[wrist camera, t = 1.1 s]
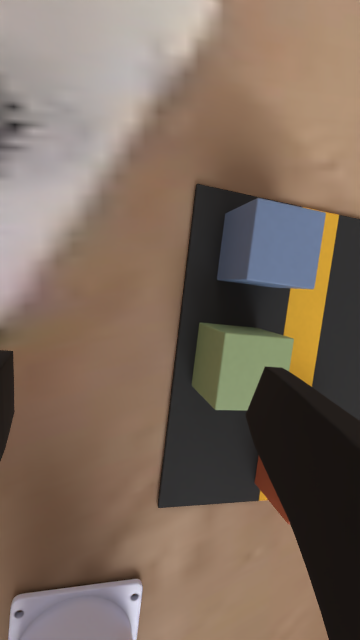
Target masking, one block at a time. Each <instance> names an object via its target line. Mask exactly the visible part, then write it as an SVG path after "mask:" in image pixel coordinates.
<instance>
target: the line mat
mask: <svg viewBox="0 0 360 640" xmlns="http://www.w3.org/2000/svg"><path fill="white" fill-rule="evenodd" d="M257 198H260V197H255V196H251V195H246V194H241V193H237V192H232V191H228V190H223V189H219V188H214V187H209V186H205V185H200V184H197V185H196V190H195V199H194V207H193V215H192V224H191V232H190V240H189V249H188V257H187V265H186V274H185V282H184V290H183V299H182V307H181V315H180V324H179V332H178V340H177V349H176V357H175V365H174V374H173V382H172V390H171V399H170V407H169V415H168V424H167V432H166V440H165V449H164V457H163V465H162V474H161V482H160V490H159V499H158V508H165V507H179V506H192V505H206V504H220V503H234V502H247V501H261V500H268V499H267V498H266V496H265V495H264V494H263V493H262V491H261V490H260V489H259V488H258V487H257V485H256V484H255V477H256V470H257V463H258V457H259V454H258V452H257V450H256V448H255V445H254V442H253V439H252V436H251V433H250V430H249V426H248V423H247V419H246V416H245V415H246V412H247V410H215V409H214V408H213V407H212V406H211V405H210V404H209V403H208V402H207V401H206V400H205V399H204V398H203V397H202V396H201V395H200V394H199V393H198V392H197V391H196V390H195V389H194V388H193V387H192V378H193V370H194V362H195V354H196V346H197V338H198V330H199V323H211V324H222V325H232V326H243V327H254V328H259V329H263V330H266V331H270V332H273V333H277V334H280V335H284V336H287V337H291V338H293V339H294V342H293V349H292V356H291V362H290V369H289V372H291V373H292V374H294V375H295V376H297V377H298V378H300V379H301V380H303V381H304V382H305V383H307V384H308V385H310V386H311V387H313V388H314V389H315V390H317V391H318V392H320V393H321V394H322V395H324V396H325V397H327V398H328V399H329V400H331V401H332V402H334V403H335V404H336V405H338V406H339V407H341V408H342V409H344V410H345V411H346V412H348V413H349V414H351V415H352V416H354V417H355V418H357V419H358V420H359V421H360V219H356V218H351V217H347V216H342V215H338V214H333V213H328V212H325V213H326V216H325V223H324V229H323V236H322V242H321V249H320V255H319V261H318V268H317V274H316V281H315V287H314V289H294V288H273V287H265V286H258V285H250V284H243V283H235V282H228V281H220V280H217V274H218V266H219V258H220V251H221V243H222V235H223V227H224V220H225V214H226V213H228V212H230V211H232V210H234V209H236V208H238V207H240V206H242V205H244V204H246V203H248V202H251V201H253V200H255V199H257ZM261 199H264V198H261ZM266 200H269V199H266ZM271 201H273V200H271ZM275 202H278V201H275ZM280 203H283V202H280ZM284 204H287V203H284ZM289 205H292V204H289ZM294 206H296V205H294ZM298 207H301V206H298ZM303 208H306V207H303ZM307 209H310V208H307ZM312 210H315V209H312ZM317 211H319V210H317ZM321 212H324V211H321Z"/></svg>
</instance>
